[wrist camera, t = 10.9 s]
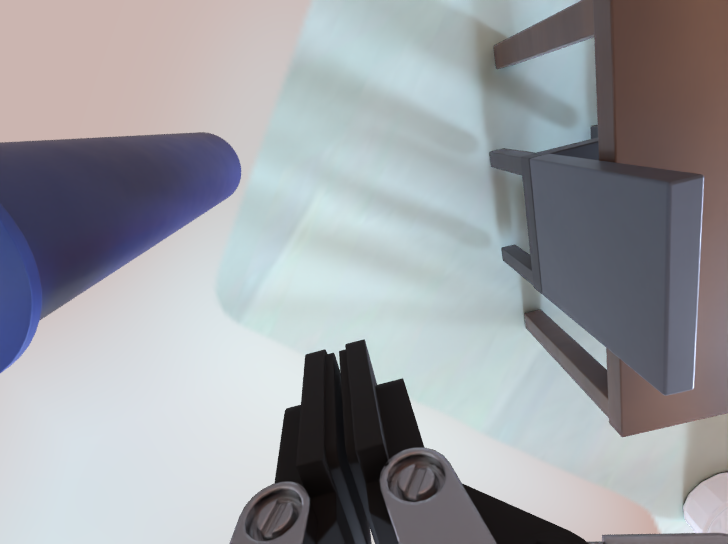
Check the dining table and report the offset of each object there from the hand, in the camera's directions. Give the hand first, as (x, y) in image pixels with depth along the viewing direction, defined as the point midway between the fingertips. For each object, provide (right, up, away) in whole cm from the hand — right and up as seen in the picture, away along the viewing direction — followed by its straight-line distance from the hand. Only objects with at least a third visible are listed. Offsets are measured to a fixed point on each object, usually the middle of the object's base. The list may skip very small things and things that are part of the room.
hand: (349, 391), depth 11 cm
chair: (+12, +8, +14) cm, 20 cm away
